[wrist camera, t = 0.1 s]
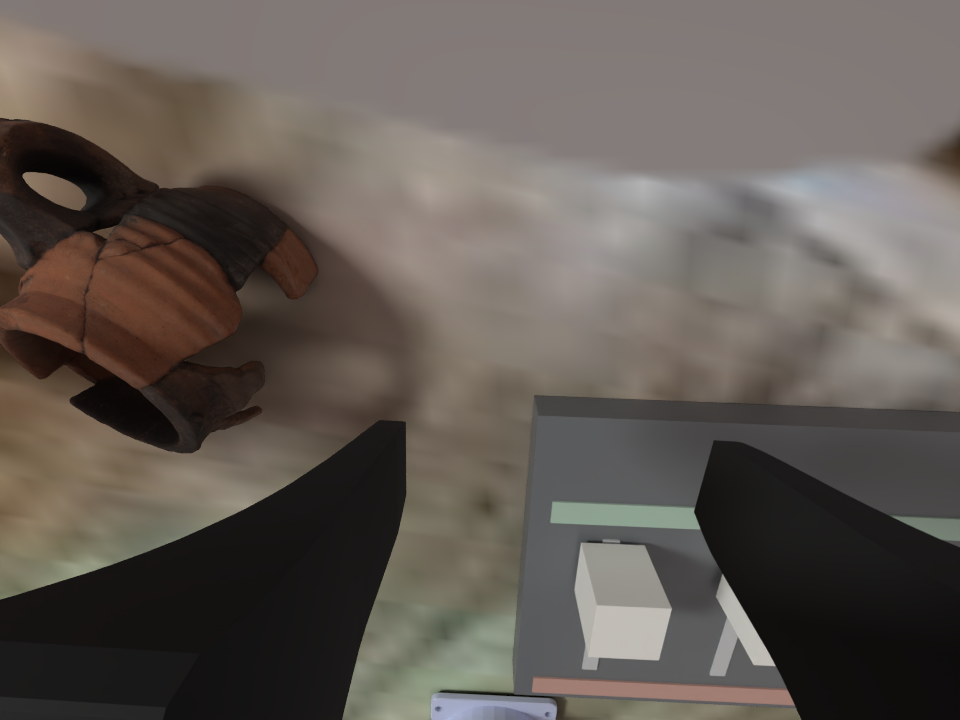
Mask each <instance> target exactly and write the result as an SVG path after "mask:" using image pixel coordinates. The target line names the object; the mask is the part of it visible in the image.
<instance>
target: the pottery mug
mask: <svg viewBox="0 0 960 720" xmlns="http://www.w3.org/2000/svg"><path fill="white" fill-rule="evenodd" d="M25 172H38V173H47V174H51V175H54V176H57V177H60V178H63V179H65V180H67V181H70V182H72V183H74V184H75V185H77V186H78V187H79V188H81V190H82V191H83V192H84V194H85V195H86V197H87V200H86V204H85V206H84V207H83V208H82V209H81V210H80V211H77V210H72V209H69V208H66V207H63V206H60V205H58V204H55V203H53V202H52V201H50V200H48V199H46V198H45V197H43V196H41V195H40V194H38V193H37V192H36V191H34V190H33V189H32V188H31V187H30V186H29V185H28V184H27V183H26V182H25V180H24V179H23V177H22V175H23V174H24V173H25ZM116 225H117V226H116ZM113 226H115V227H114V229H113V231H112V232H111V233H110V236H109V238H108V239H105V238H103V237H102V236H100V235H98V234H95V233H93V232H94V231H97V230H100V229H105V228H110V227H113ZM0 234H1V235H2V236H3V237H4V238H5V239H6V240H7V241H8V243H9V244H10V246H11V248H12V250H13V252H14V254H15V258H16V260H17V263H18V265H19V266H21V267H22V268H24V269H25V270H28V271H27V272H26V274H25V275H24V276H22V277H21V279H20V285H19V287H18V292H19V296H18V297H16V298H14V299H13V300H11V301H10V302H8V303H6V304H4V305H2V306H0V344H1V345H2V346H3V347H4V349H5V350H7V351H8V353H9V354H10V355H11V356H12V357H13V358H14V359H15V360H16V361H17V362H19V364H21V365H22V366H23V367H24V368H25V369H27V370H28V371H29V372H30V373H31V374H33V375H34V376H35V377H37V378H38V379H45V378H47V377H48V376H49V375H50V374H52V373H53V372H54V371H55V370H57V369H58V368H60V367H61V366H62V365H66V366H68V367H69V368H71V369H72V370H73V371H74V372H76V373H77V374H79V375H80V376H82V377H84V378H85V379H87V380H89V381H90V382H92V383H94V384H95V385H94V386H93V387H90V388H89V389H87V390H85V391H83V392H81V393H80V394H78V395H76V396H74V397H72V398H71V399H70V403H71V404H72V405H73V406H75V407H76V408H78V409H79V410H81V411H82V412H84V413H85V414H87V415H89V416H90V417H92V418H94V419H96V420H97V421H99V422H101V423H103V424H106V425H108V426H110V427H111V428H113V429H115V430H117V431H118V432H120V433H122V434H124V435H127V436H129V437H131V438H134V439H136V440H139V441H142V442H144V443H147V444H151V445H153V446H156V447H158V448H161V449H164V450H167V451H174V452H177V453H193V452H195V451H197V450H199V449H200V447H201V444H202V442H203V441H204V439H205V438H206V437H207V436H208V435H209V433H211V432H214V431H217V430H225V429H227V428H230V427H232V426H235V425H238V424H241V423H244V422H246V421H248V420H250V419H251V418H253V417H255V416H257V415H259V414H260V413H261V412H262V409H261V408H260V407H259V406H254V407H251V408H248V409H246V410H243V411H239V410H241V409H242V408H244V407H245V406H246V405H247V403H248V402H249V400H250V398H251V396H252V395H253V394H254V393H256V392H257V391H259V390H260V389H261V388H262V387H263V385H264V383H265V374H264V372H265V371H264V366H263V364H262V363H261V362H260V361H251V362H248V363H246V364H244V365H242V366H240V367H239V368H232V367H207V366H203V365H199V364H194V363H189V362H186V361H184V360H185V359H186V358H188V357H191V356H193V355H196V354H197V353H199V352H200V351H202V350H203V349H205V348H207V347H209V346H211V345H213V344H215V343H217V342H219V341H220V340H223V339H225V338H227V337H229V336H231V335H232V334H234V333H235V331H236V328H237V326H238V325H239V323H240V321H241V316H242V307H241V305H240V302H239V299H238V297H237V295H236V291H238V290H240V289H241V288H242V287H243V285H244V284H245V282H246V280H247V278H248V277H249V275H250V274H251V273H252V271H253V270H254V269H255V267H256V266H257V265H258V264H260V265H261V266H262V267H263V268H264V269H265V270H266V271H267V272H268V273H270V274H271V275H272V277H273V278H274V280H276V281H277V283H278V284H279V286H280V287H281V288H282V290H283V291H284V292H285V294H286V296H287V297H288V298H289V299H298V298H300V297H301V296H303V295H304V293H305V292H306V290H307V287H308V285H309V284H310V283H311V282H312V280H313V279H314V277H315V276H316V275H317V272H318V270H317V266H316V265H315V263H314V260H313V258H312V256H311V254H310V253H309V252H308V250H307V249H306V248H305V246H304V245H303V243H302V242H301V241H300V240H299V239H298V238H297V237H296V236H295V234H294V233H293V232H292V231H291V230H290V229H288V228H287V226H286V224H285V223H284V222H283V221H281V220H280V219H279V218H278V217H277V216H275V215H274V214H273V213H272V212H270V211H269V210H268V208H267V207H265V206H264V205H262V204H260V203H258V202H256V201H255V200H253V199H251V198H250V197H248V196H247V195H245V194H242V193H240V192H238V191H235V190H232V189H226V188H220V187H212V186H203V187H199V188H173V189H168V188H160V189H159V186H158V185H157V184H155V183H153V182H150V181H148V180H145V179H143V178H141V177H140V176H138V175H137V174H135V173H134V172H133V171H131V170H130V169H129V168H128V167H127V166H126V165H124V164H123V163H122V162H120V161H119V160H118V159H116V158H115V157H114V156H112V155H111V154H110V153H108V152H107V151H105V150H104V149H102V148H100V147H99V146H97V145H96V144H94V143H92V142H90V141H88V140H86V139H85V138H83V137H81V136H79V135H76V134H74V133H72V132H69V131H66V130H64V129H61V128H58V127H55V126H51V125H48V124H44V123H38V122H33V121H30V120H20V119H14V120H10V119H5V118H0ZM238 411H239V412H238Z"/></svg>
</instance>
